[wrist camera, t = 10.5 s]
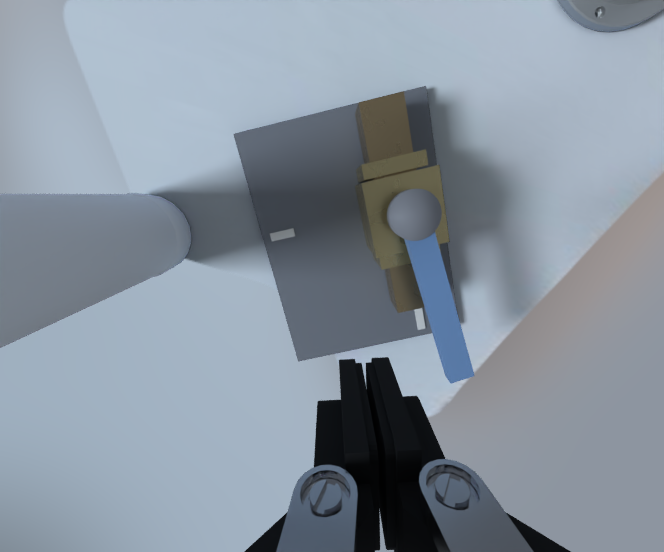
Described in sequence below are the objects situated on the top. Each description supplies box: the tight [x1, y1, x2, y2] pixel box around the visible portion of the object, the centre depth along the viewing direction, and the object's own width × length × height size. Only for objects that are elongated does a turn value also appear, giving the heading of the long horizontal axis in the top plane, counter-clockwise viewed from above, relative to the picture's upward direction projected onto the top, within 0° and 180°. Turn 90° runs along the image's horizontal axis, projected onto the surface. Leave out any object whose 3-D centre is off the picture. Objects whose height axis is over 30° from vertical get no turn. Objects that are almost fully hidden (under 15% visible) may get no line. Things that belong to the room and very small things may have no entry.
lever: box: [387, 189, 474, 383], centre depth 24 cm, size 16×4×1 cm, turn 20°
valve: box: [355, 91, 450, 313], centre depth 27 cm, size 6×18×8 cm, turn 13°
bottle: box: [0, 193, 191, 348], centre depth 17 cm, size 8×8×30 cm
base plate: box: [234, 86, 457, 361], centre depth 32 cm, size 18×24×1 cm
